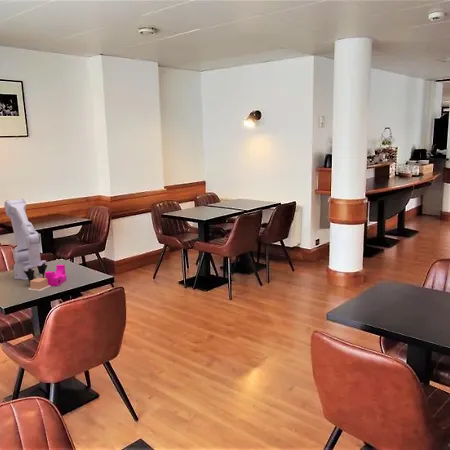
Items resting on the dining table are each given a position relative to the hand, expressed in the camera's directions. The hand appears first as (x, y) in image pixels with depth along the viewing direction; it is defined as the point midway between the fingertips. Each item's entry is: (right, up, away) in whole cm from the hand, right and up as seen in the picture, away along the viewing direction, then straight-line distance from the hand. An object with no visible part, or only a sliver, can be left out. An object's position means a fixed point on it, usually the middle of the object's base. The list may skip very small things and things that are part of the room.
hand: (36, 280), depth 246 cm
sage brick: (0, -2, 0) cm, 2 cm away
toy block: (+11, -1, +1) cm, 11 cm away
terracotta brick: (+5, -3, -9) cm, 11 cm away
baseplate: (+5, -3, -9) cm, 11 cm away
